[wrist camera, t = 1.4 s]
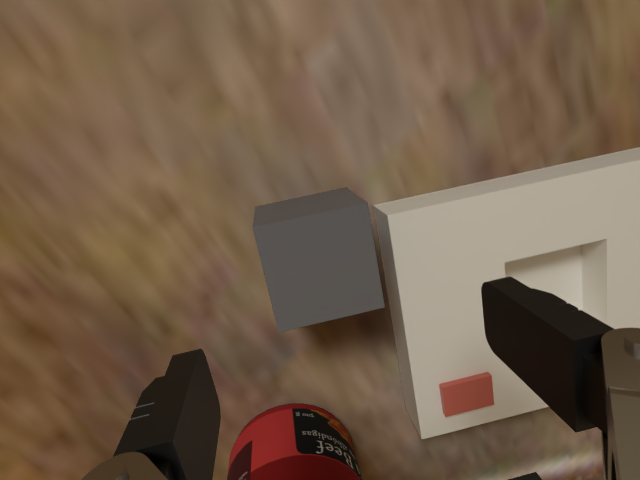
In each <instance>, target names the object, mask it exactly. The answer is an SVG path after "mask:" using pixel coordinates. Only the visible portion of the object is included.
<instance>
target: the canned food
mask: <svg viewBox="0 0 640 480" xmlns="http://www.w3.org/2000/svg"><path fill="white" fill-rule="evenodd" d="M227 480H362V476H361V473H360V469H359V466H358V462H357V459H356V455H355V452H354V448H353V445H352V442H351V439H350V436H349V434H348V432H347V431H346V429H345V428H344V427H343V425H342V424H341V423H340V422H339V420H337V419H336V418H335V417H334V416H333V415H332V414H331V413H329V412H327V411H326V410H324V409H322V408H319V407H316V406H313V405H308V404H286V405H280V406H277V407H274V408H271V409H268V410H266V411H265V412H263V413H261V414H259V415H258V416H256V417H255V418H254V419H252V420H251V421H250V422H249V423H248V424H247V425H246V426H245V427H244V429H243V430H242V432H241V433H240V435H239V437H238V438H237V440H236V442H235V444H234V446H233V448H232V452H231V455H230V460H229V469H228V477H227Z"/></svg>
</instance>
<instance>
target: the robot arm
mask: <svg viewBox="0 0 640 480" xmlns="http://www.w3.org/2000/svg"><path fill="white" fill-rule="evenodd" d="M481 295H482V307H483V318H484V329H485V336H486V339H487V342H488V344H489V346H490V348H491V350H492V351H493V353H494V354H495V355H496V356H497V357H498V358H499V359H500V360H501V361H502V362H504V363H505V364H506V365H507V366H508V367H509V368H510V369H511V370H512V371H513V372H514V373H515V374H516V375H517V376H518V377H519V378H520V379H521V380H522V381H523V382H524V383H525V384H526V385H527V386H528V387H529V388H530V389H531V390H532V391H533V392H535V393H536V394H537V395H538V396H539V397H540V398H541V399H542V400H543V401H544V402H545V403H546V404H547V405H548V406H549V407H550V408H551V409H552V410H553V411H554V412H555V413H556V414H557V415H558V416H559V417H560V418H561V419H562V420H563V421H564V422H566V423H567V424H568V425H569V426H570V427H571V428H572V429H573V430H574V431H575V432H580V431H583V430H587V429H591V428H594V427H598V428H599V429H600V430H601V442H602V457H603V469H604V480H640V328H619V329H614V328H612V327H610V326H608V325H607V324H605V323H603V322H601V321H600V320H598V319H596V318H594V317H593V316H591V315H589V314H587V313H586V312H584V311H582V310H578V308H577V307H575V306H573V305H571V304H570V303H568V304H567V302H566V301H564V300H563V299H561V298H559V297H557V296H556V295H554V294H552V293H548V292H545V291H541V290H538V289H534V288H532V289H531V288H530V287H528V286H526V285H525V284H523V283H521V282H519V281H518V280H516V279H514V278H513V277H510V276H509V277H504V278H500V279H496V280H492V281H488V282H484V283H483V284H482V287H481ZM220 418H221V416H220V405H219V400H218V396H217V393H216V389H215V386H214V383H213V379H212V376H211V373H210V370H209V366H208V363H207V360H206V356H205V354H204V352H203V350H202V349H198V350H193V351H189V352H185V353H181V354H177V355H173V356H172V358H171V361H170V364H169V366H168V369H167V371H166V374H165V376H163V377H159V378H155V379H154V380H153V382H152V383H151V384H150V385H149V386H148V387H147V388H146V389H145V390H144V391H143V392H142V394H141V396H140V398H139V401H138V403H137V405H136V409H134V412H133V414H132V416H131V420H130V421H129V423H128V425H127V427H126V429H125V431H124V434H123V436H122V438H121V440H120V442H119V445H118V447H117V449H116V451H115V453H114V456H113V457H112V458H110V459H107V460H106V461H104V462H102V463H100V464H99V465H97V466H96V467H95V468H93V469H92V470H91V471H90V472H88V473H87V474H86V475H85V476H84V477H83V478H82V480H212V477H213V470H214V463H215V456H216V449H217V442H218V434H219V427H220ZM509 480H542V479H541V478H540V477H539V475H538V474H537V473H536V472H534V473H530V474H527V475H523V476H520V477H516V478H512V479H509Z"/></svg>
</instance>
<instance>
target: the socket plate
mask: <svg viewBox="0 0 640 480" xmlns="http://www.w3.org/2000/svg"><path fill="white" fill-rule="evenodd" d="M373 208H374V214H375V221H376V227H377V233H378V239H379V245H380V252H381V258H382V264H383V270H384V276H385V283H386V289H387V295H388V301H389V307H390V314H391V320H392V326H393V332H394V338H395V345H396V351H397V357H398V363H399V369H400V376H401V382H402V388H403V394H404V400H405V406H406V409H407V411H408V413H409V415H410V417H411V419H412V421H413V423H414V425H415V427H416V429H417V431H418V433H419V435H420V437H421V439H426V438H430V437H434V436H438V435H442V434H446V433H449V432H453V431H457V430H461V429H465V428H469V427H472V426H476V425H480V424H484V423H488V422H492V421H496V420H499V419H503V418H507V417H511V416H515V415H519V414H523V413H526V412H530V411H534V410H538V409H542V408H546V407H549V406H548V405H547V404H546V403H545V402H544V401H543V400H542V399H541V398H540V397H539V396H538V395H537V394H536V393H535V392H533V391H532V390H531V389H530V388H529V387H528V386H527V385H526V384H525V383H524V382H523V381H522V380H521V379H520V378H519V377H518V376H517V375H516V374H515V373H514V372H513V371H512V370H511V369H510V368H509V367H508V366H507V365H506V364H505V363H504V362H502V361H501V360H500V359H499V358H498V357H497V356H496V355H495V354H494V353H493V351H492V350H491V348H490V346H489V344H488V342H487V339H486V336H485V329H484V318H483V307H482V295H481V287H482V284H483V283H484V282H488V281H492V280H496V279H500V278H504V277H509V276H510V277H513V278H514V279H516V280H518V281H519V282H521V283H523V284H525V285H526V286H528V287H530V288H531V289H532V288H534V289H538V290H541V291H545V292H548V293H552V294H554V295H556V296H557V297H559V298H561V299H563V300H564V301H566V302H567V304H568V303H570V304H571V305H573V306H575V307H577V308H578V310H582V311H584V312H586V313H587V314H589V315H591V316H593V317H594V318H596V319H598V320H600V321H601V322H603V323H605V324H607V325H608V326H610V327H612V328H614V329H619V328H640V147H638V148H633V149H629V150H624V151H619V152H615V153H610V154H606V155H601V156H596V157H592V158H587V159H583V160H578V161H574V162H569V163H564V164H560V165H555V166H551V167H546V168H541V169H537V170H532V171H528V172H523V173H519V174H514V175H509V176H505V177H500V178H496V179H491V180H486V181H482V182H477V183H473V184H468V185H463V186H459V187H454V188H450V189H445V190H441V191H436V192H431V193H427V194H422V195H418V196H413V197H408V198H404V199H399V200H395V201H390V202H386V203H381V204H376V205H373Z"/></svg>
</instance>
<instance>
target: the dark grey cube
mask: <svg viewBox="0 0 640 480" xmlns="http://www.w3.org/2000/svg"><path fill="white" fill-rule="evenodd" d="M253 230H254V235H255V239H256V243H257V247H258V251H259V255H260V259H261V263H262V267H263V271H264V275H265V279H266V283H267V287H268V292H269V296H270V300H271V304H272V308H273V312H274V316H275V320H276V324H277V328H278V332H283V331H287V330H291V329H296V328H300V327H304V326H308V325H313V324H317V323H321V322H325V321H330V320H334V319H338V318H342V317H347V316H351V315H355V314H359V313H364V312H368V311H372V310H376V309H381V308H385V305H384V299H383V293H382V287H381V281H380V275H379V269H378V263H377V257H376V251H375V245H374V239H373V232H372V226H371V220H370V214H369V208H368V203H367V202H366V201H365V200H363V199H362V198H360V197H359V196H358V195H356V194H355V193H353V192H352V191H351V190H349V189H348V188H346V187H345V188H341V189H336V190H331V191H327V192H322V193H317V194H313V195H308V196H303V197H299V198H294V199H289V200H285V201H280V202H275V203H271V204H266V205H261V206H257V207H256V208H255V215H254V222H253Z"/></svg>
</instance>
